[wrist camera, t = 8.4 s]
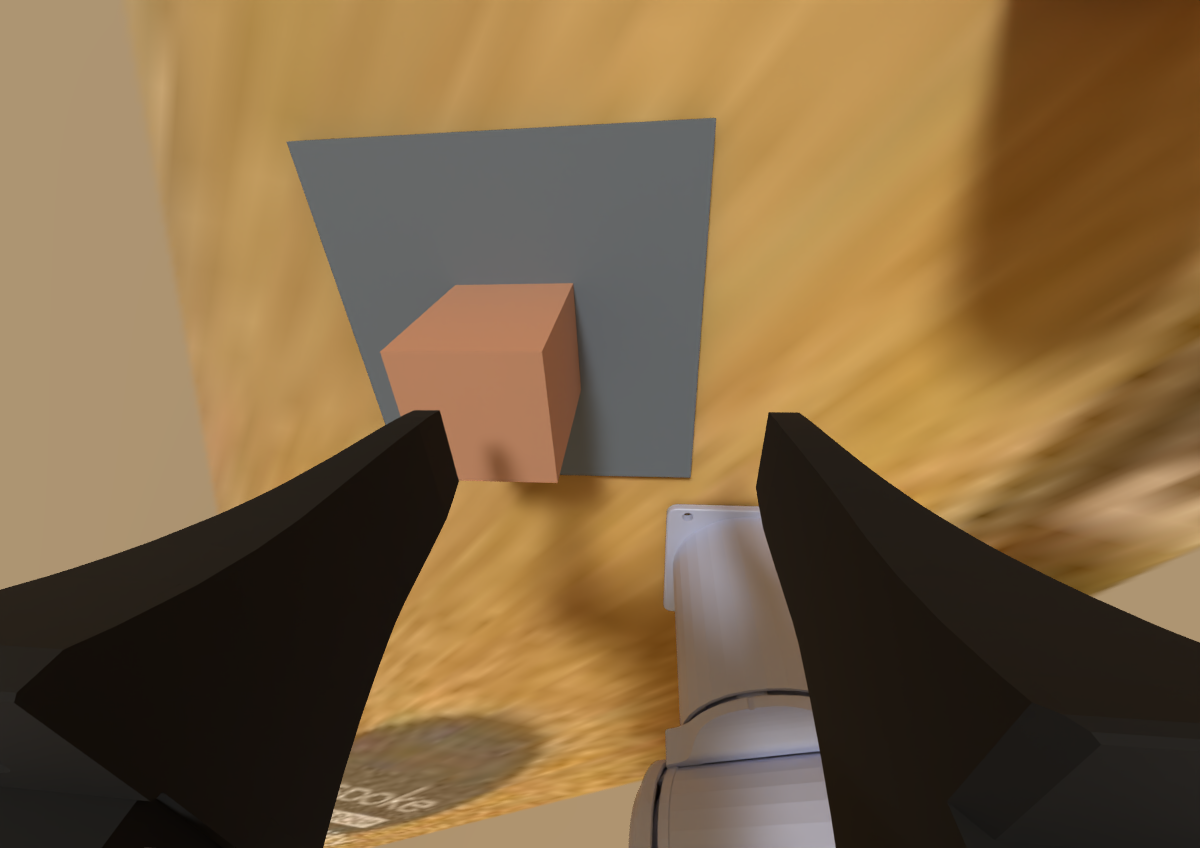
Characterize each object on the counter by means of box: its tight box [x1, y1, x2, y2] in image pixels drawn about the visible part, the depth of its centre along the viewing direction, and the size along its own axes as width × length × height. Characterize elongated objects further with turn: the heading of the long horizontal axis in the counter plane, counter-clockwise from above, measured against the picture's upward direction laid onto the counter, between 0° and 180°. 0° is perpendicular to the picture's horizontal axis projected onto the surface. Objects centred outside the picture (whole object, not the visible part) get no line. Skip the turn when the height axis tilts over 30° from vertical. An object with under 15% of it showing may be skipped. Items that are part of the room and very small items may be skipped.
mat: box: [287, 118, 716, 478], centre depth 19 cm, size 14×14×1 cm
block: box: [380, 283, 581, 483], centre depth 17 cm, size 4×4×6 cm
